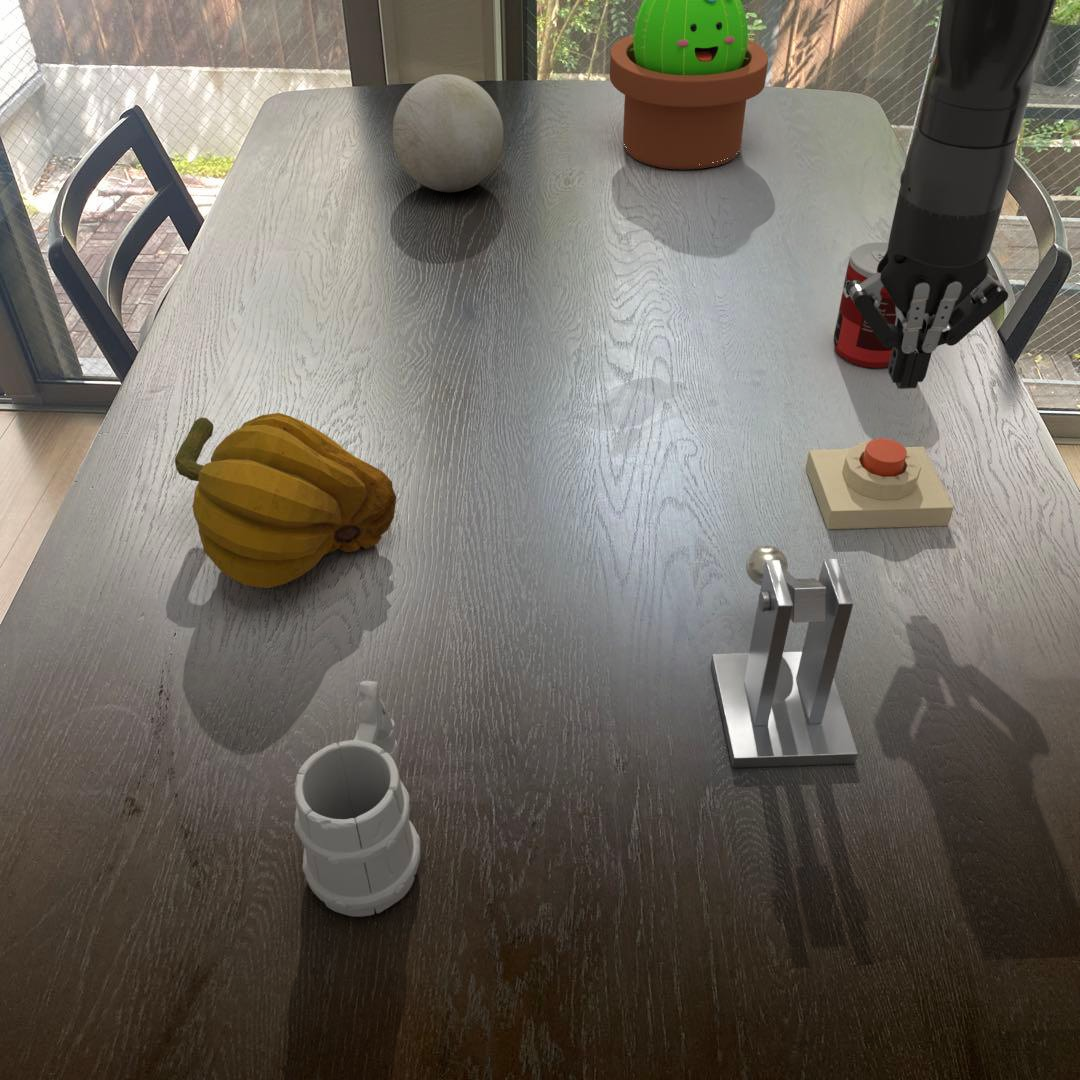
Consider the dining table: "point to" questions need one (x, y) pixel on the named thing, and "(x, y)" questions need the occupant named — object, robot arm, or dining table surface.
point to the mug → (357, 817)
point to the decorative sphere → (448, 133)
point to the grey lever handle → (791, 586)
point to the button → (884, 457)
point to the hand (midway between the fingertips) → (904, 383)
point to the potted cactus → (687, 82)
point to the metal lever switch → (787, 682)
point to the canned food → (851, 327)
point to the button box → (877, 491)
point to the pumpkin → (281, 498)
